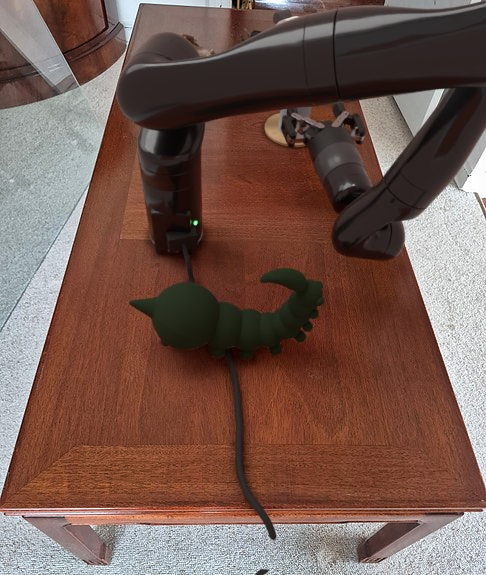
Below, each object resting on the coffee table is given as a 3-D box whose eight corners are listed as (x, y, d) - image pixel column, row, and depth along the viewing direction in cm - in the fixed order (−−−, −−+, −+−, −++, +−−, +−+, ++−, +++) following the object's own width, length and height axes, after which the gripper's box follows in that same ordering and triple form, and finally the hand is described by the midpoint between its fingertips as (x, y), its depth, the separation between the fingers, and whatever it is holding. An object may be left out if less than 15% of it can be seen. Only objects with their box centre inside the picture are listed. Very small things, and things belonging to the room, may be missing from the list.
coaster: (320, 149, 99) (321, 146, 98) (264, 145, 98) (265, 143, 98) (316, 116, 106) (316, 113, 105) (264, 112, 105) (264, 110, 105)
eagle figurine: (236, 57, 117) (271, 55, 115) (236, 25, 115) (272, 23, 113) (243, 60, 124) (276, 59, 122) (242, 30, 122) (276, 29, 120)
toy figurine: (293, 324, 74) (136, 306, 71) (329, 248, 59) (131, 222, 56) (295, 378, 68) (125, 361, 66) (335, 309, 53) (116, 283, 51)
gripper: (384, 141, 74) (354, 85, 84) (299, 144, 72) (278, 87, 82) (370, 177, 80) (344, 121, 90) (292, 181, 78) (273, 124, 88)
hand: (313, 105), depth 86 cm, fingers open, 8 cm apart
